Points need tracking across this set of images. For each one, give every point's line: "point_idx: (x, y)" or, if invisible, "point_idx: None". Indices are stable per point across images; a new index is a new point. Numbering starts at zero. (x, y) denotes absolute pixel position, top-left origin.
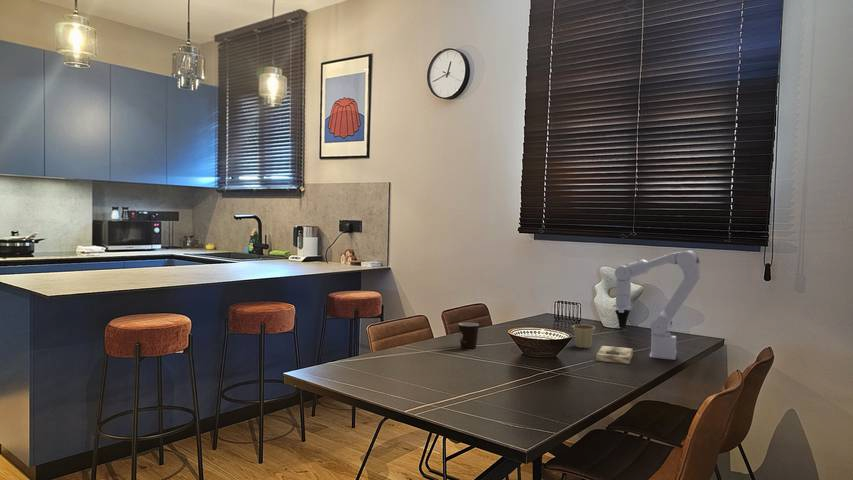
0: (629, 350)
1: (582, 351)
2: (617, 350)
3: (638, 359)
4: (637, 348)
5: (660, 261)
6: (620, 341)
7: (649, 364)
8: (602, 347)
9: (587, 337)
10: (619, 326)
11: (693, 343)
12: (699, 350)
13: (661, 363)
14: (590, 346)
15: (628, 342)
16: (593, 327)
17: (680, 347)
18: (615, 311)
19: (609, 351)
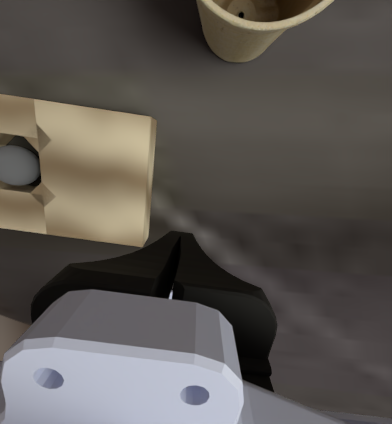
0: (99, 232)
1: (122, 18)
2: (75, 186)
3: (79, 249)
4: (259, 259)
5: None
6: (388, 207)
7: (25, 274)
8: (109, 118)
9: (198, 6)
10: (170, 231)
11: (368, 405)
12: None
13: None
14: (227, 60)
15: (369, 237)
16: (296, 17)
17: (304, 372)
18: (61, 273)
19: (37, 150)
